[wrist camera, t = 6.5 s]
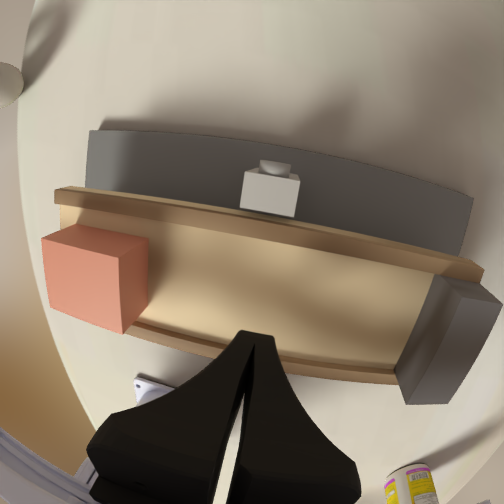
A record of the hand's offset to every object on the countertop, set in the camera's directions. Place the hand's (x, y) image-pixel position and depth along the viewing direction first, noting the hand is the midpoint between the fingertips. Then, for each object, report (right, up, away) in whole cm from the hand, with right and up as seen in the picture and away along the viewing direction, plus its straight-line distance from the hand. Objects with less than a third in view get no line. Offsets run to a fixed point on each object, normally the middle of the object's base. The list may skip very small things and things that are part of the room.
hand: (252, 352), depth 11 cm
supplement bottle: (+21, -26, +16) cm, 37 cm away
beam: (0, +2, +4) cm, 4 cm away
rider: (-8, +3, +4) cm, 10 cm away
